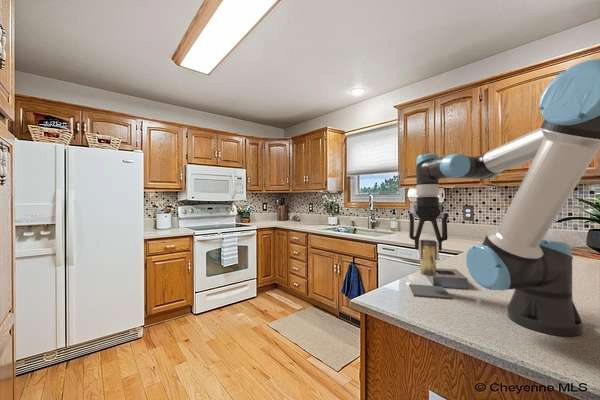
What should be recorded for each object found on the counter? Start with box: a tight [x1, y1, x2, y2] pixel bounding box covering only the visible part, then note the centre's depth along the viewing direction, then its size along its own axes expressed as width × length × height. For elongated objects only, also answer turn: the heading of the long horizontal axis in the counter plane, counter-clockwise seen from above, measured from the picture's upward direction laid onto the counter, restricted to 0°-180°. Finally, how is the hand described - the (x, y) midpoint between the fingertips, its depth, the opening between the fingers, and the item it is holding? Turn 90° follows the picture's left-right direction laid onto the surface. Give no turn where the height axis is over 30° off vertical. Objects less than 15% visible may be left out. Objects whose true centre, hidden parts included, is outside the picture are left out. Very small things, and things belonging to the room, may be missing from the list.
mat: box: [408, 283, 452, 300], centre depth 97 cm, size 12×12×1 cm
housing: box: [425, 267, 469, 290], centre depth 108 cm, size 14×12×4 cm
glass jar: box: [419, 239, 437, 277], centre depth 97 cm, size 5×5×12 cm
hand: (428, 258), depth 97 cm, fingers closed on glass jar, 5 cm apart
